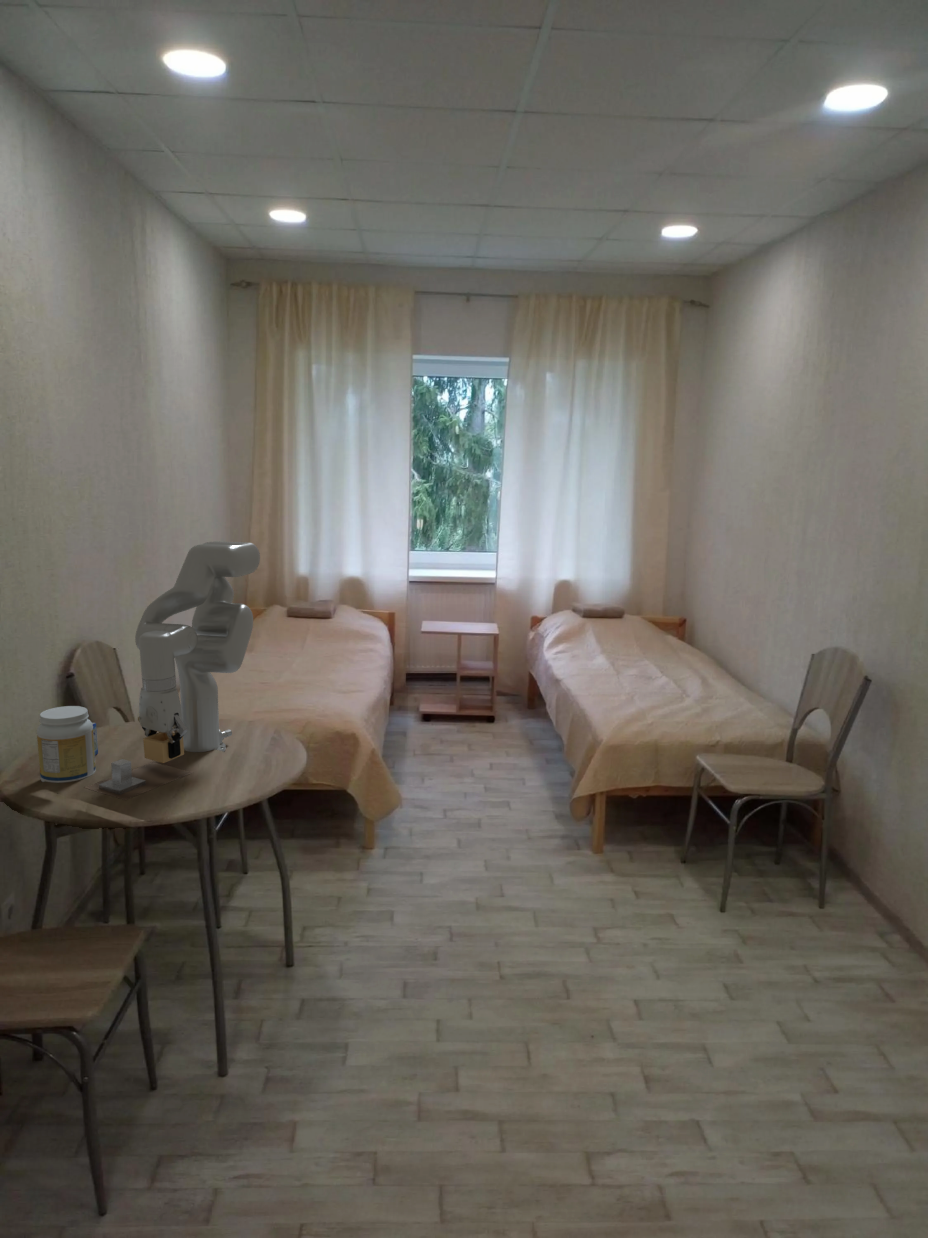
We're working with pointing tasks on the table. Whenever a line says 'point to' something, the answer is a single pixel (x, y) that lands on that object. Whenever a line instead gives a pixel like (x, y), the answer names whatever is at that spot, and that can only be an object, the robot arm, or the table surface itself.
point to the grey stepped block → (121, 778)
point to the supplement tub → (65, 744)
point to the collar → (159, 747)
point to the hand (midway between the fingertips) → (164, 753)
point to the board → (146, 779)
